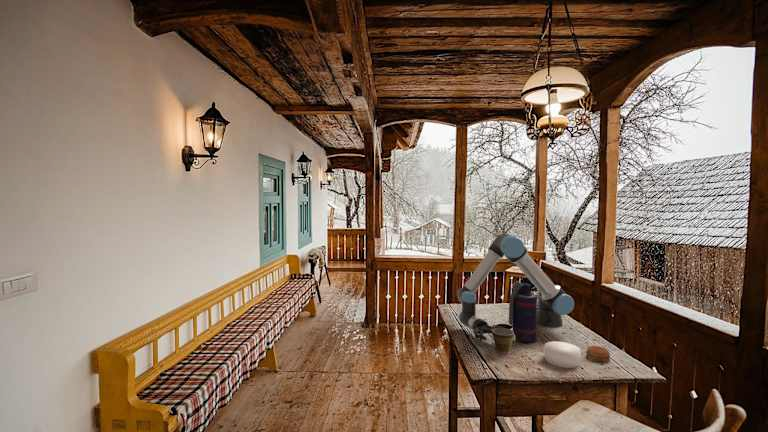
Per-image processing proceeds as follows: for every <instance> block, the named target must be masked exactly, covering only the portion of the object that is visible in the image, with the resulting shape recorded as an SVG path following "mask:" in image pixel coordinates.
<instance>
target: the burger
mask: <svg viewBox="0 0 768 432" xmlns="http://www.w3.org/2000/svg"><path fill="white" fill-rule="evenodd" d="M610 356H611V354H610V351H609V350H608V349H607V348H605V347H602V346H599V345H597V346H596V345H592V346H589V347H588V346H587V349H586V357H587V359H590V360H592V361H595V362H601V363H602V362H603V363H604V362H605V363H607V362H610V360H611V357H610Z"/></svg>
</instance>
